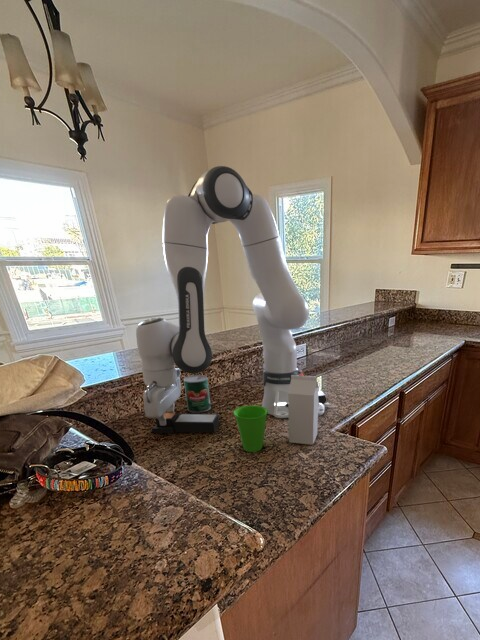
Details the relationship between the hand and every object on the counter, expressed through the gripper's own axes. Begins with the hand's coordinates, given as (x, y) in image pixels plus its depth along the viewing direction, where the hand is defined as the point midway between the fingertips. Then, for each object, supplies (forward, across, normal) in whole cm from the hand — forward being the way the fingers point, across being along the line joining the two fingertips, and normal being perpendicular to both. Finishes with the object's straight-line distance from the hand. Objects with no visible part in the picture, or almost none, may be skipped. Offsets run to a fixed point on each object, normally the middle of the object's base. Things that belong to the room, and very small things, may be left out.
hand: (167, 420), depth 108 cm
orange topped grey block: (+2, 0, 0) cm, 2 cm away
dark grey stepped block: (+2, 0, -6) cm, 6 cm away
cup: (+2, -13, -28) cm, 31 cm away
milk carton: (+2, -7, -42) cm, 43 cm away
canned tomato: (+3, +16, -5) cm, 17 cm away
